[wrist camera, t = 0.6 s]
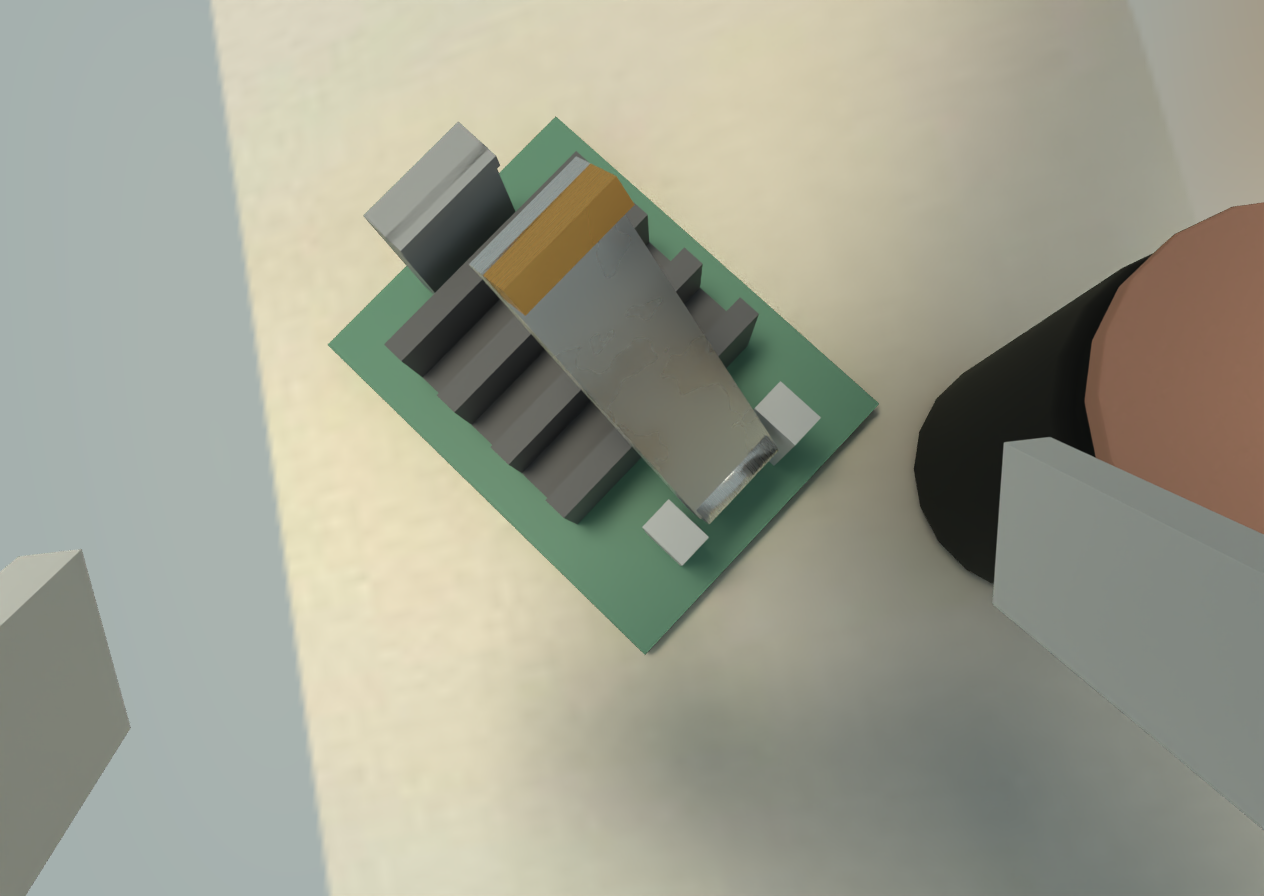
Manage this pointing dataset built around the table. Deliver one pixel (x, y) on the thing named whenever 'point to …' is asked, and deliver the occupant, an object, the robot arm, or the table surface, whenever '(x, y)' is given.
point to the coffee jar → (1119, 388)
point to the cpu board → (552, 402)
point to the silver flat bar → (626, 336)
